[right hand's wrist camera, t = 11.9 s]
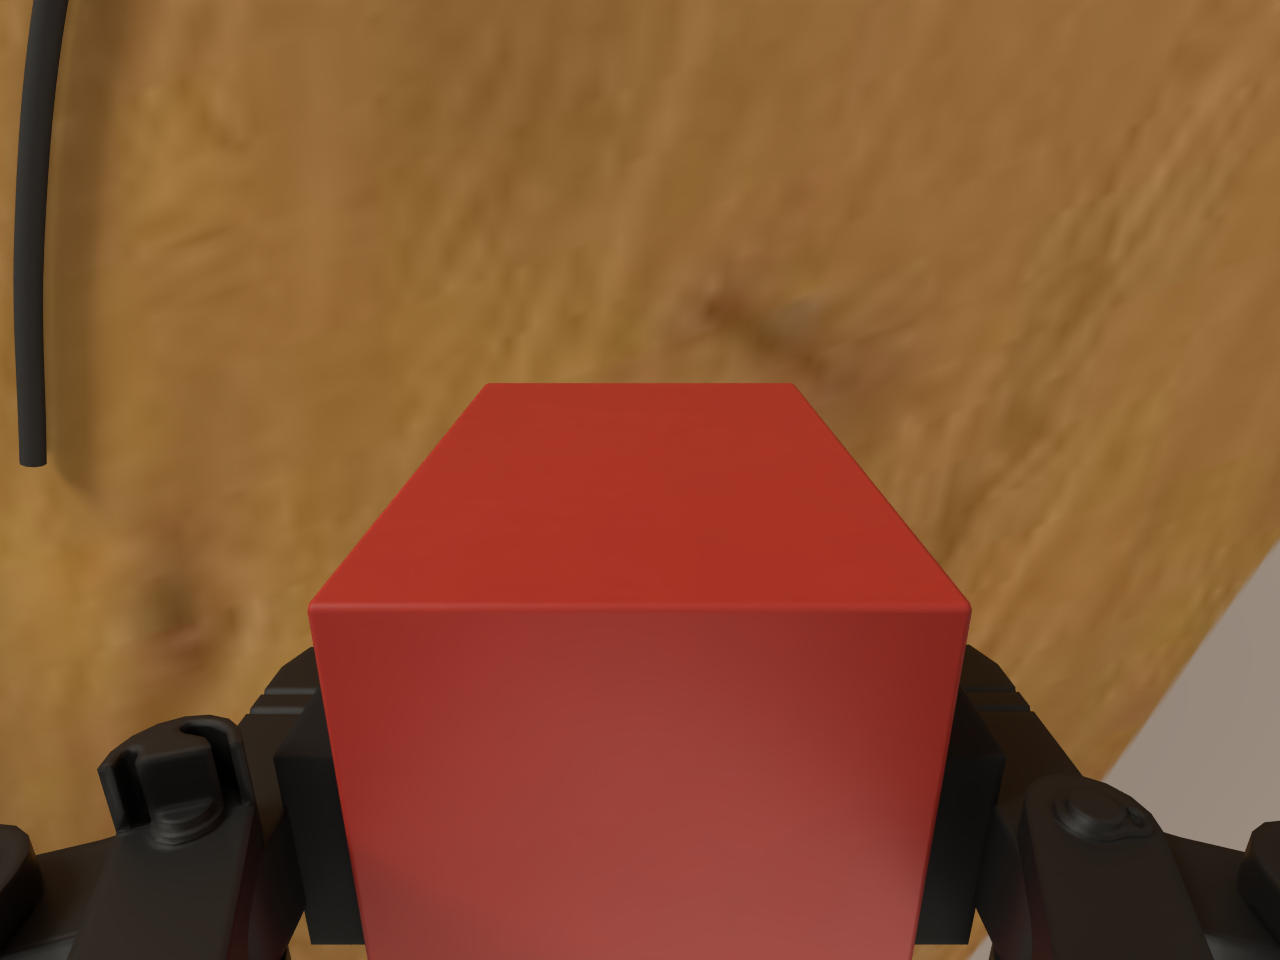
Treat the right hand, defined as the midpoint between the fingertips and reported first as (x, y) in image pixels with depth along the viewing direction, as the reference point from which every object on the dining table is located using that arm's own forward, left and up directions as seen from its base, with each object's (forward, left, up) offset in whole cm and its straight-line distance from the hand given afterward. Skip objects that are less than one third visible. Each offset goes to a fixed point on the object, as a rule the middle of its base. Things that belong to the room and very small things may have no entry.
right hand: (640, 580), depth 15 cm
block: (0, 0, -2) cm, 2 cm away
